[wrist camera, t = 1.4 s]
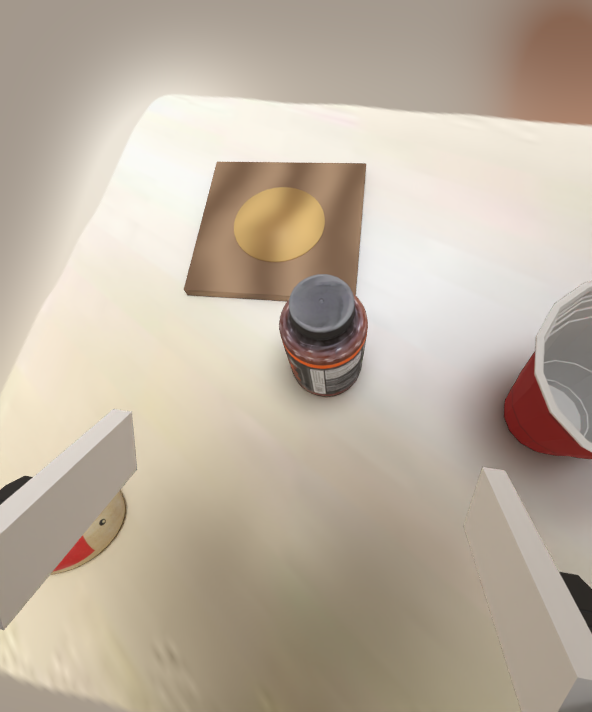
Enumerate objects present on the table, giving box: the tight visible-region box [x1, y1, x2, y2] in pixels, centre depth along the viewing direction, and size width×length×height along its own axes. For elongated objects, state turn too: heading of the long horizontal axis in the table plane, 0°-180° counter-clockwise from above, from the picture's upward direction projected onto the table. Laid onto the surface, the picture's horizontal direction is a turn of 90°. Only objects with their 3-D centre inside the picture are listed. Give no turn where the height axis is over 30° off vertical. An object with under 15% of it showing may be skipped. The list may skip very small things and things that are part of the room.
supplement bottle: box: [279, 274, 368, 396], centre depth 29 cm, size 6×6×11 cm
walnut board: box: [184, 162, 366, 301], centre depth 39 cm, size 16×16×1 cm
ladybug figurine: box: [50, 491, 125, 575], centre depth 30 cm, size 7×10×4 cm
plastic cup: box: [504, 281, 592, 459], centre depth 25 cm, size 11×11×12 cm
